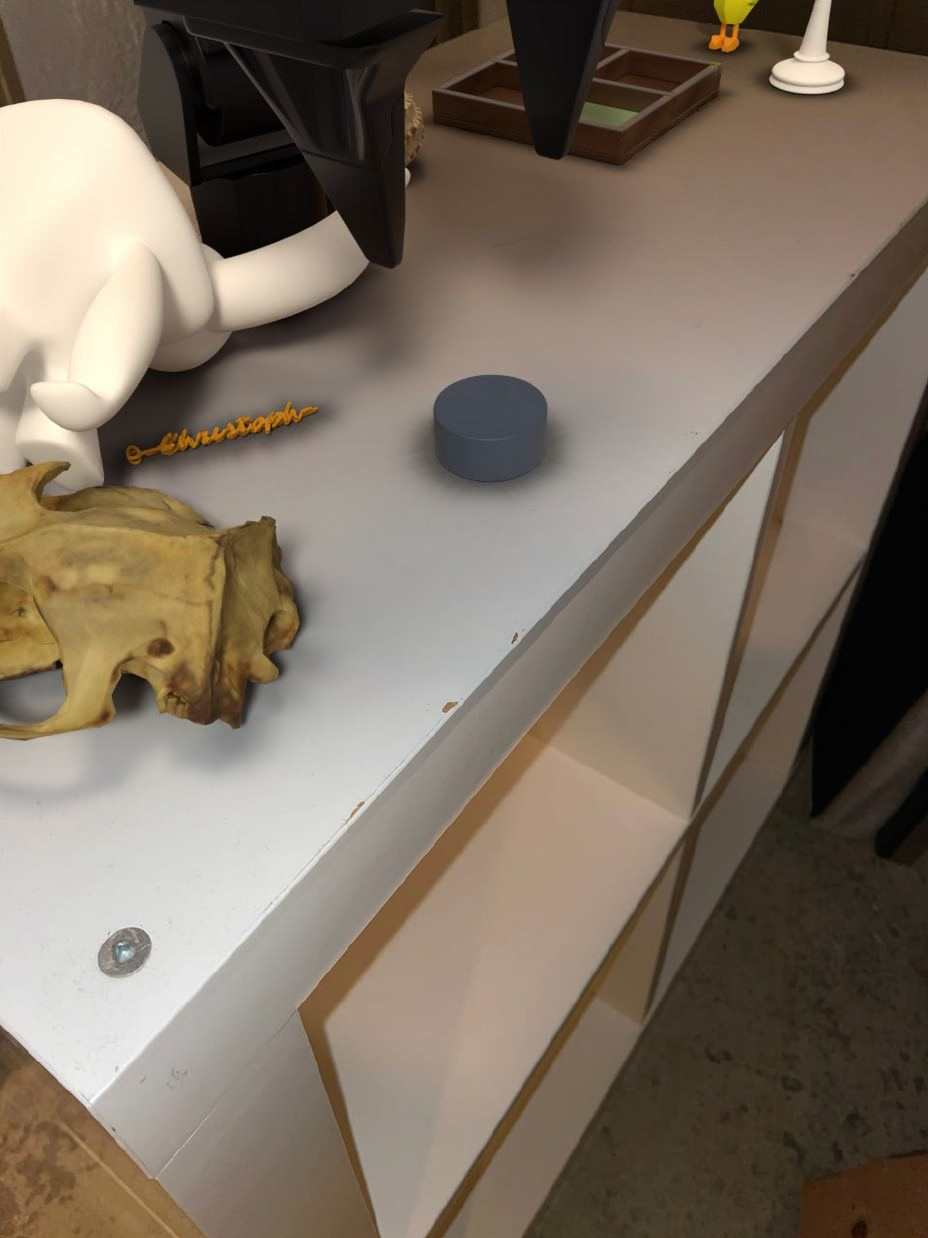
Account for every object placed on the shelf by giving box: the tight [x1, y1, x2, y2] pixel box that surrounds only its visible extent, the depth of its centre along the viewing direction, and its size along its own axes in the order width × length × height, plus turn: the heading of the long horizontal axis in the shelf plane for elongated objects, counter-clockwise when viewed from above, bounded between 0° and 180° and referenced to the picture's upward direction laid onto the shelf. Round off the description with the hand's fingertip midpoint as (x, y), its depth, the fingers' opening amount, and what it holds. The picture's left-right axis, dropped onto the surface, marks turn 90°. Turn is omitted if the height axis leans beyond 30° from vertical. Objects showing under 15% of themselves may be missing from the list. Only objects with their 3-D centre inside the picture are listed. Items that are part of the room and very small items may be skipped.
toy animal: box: [0, 98, 411, 492], centre depth 37 cm, size 20×12×17 cm
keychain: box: [125, 401, 318, 466], centre depth 39 cm, size 8×1×1 cm, turn 112°
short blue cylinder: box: [432, 374, 549, 483], centre depth 37 cm, size 4×4×2 cm
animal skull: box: [0, 461, 300, 742], centre depth 29 cm, size 10×16×7 cm
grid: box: [431, 42, 724, 166], centre depth 63 cm, size 14×14×2 cm
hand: (474, 205), depth 31 cm, fingers open, 9 cm apart
